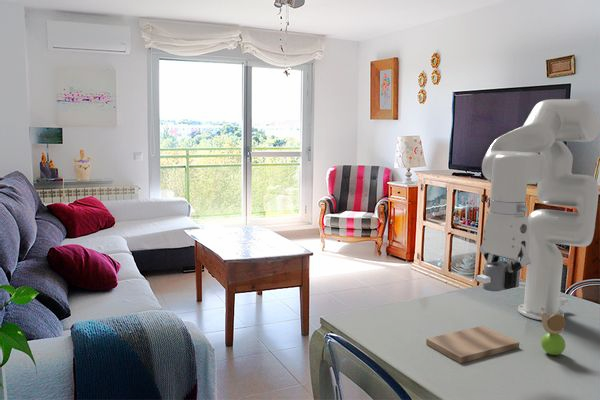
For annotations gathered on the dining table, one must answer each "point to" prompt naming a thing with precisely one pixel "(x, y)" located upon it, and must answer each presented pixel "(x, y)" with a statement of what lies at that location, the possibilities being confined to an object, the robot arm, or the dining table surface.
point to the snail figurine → (553, 333)
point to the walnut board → (472, 344)
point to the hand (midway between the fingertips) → (501, 284)
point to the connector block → (495, 276)
